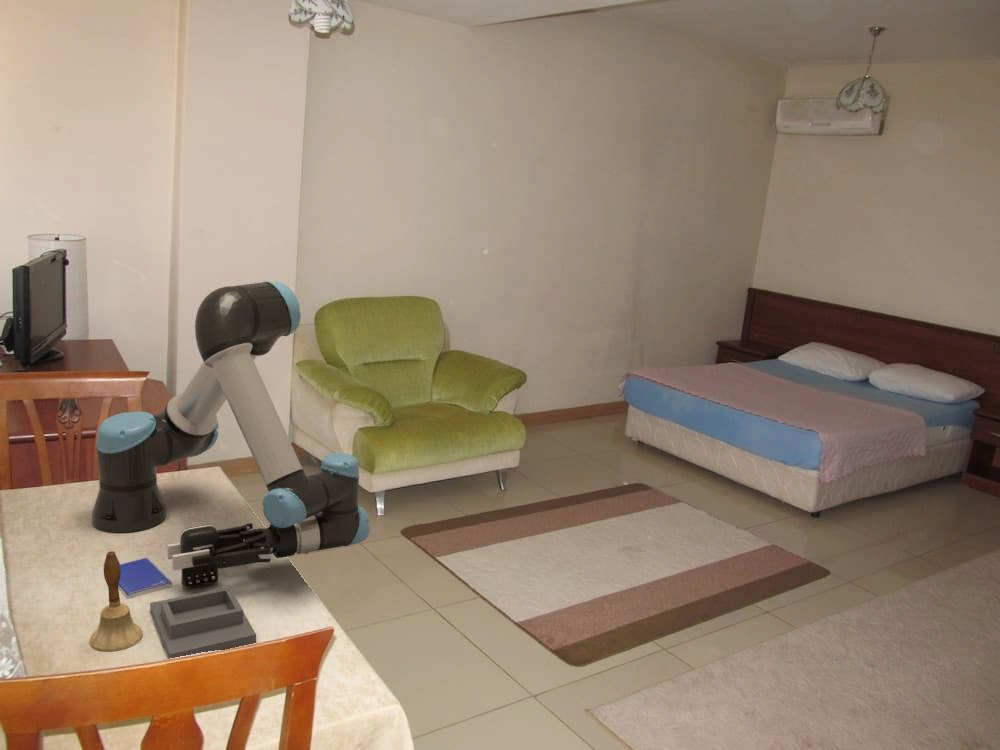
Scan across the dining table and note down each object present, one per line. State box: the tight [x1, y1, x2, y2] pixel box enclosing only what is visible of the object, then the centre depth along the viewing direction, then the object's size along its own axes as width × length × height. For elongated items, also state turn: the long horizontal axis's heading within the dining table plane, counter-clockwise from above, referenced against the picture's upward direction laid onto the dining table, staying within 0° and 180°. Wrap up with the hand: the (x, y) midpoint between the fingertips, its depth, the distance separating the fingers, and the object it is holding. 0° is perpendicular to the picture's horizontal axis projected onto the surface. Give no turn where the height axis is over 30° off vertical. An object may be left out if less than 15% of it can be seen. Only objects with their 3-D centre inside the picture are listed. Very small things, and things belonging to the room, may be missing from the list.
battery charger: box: [179, 524, 220, 589], centre depth 161 cm, size 7×4×11 cm, turn 124°
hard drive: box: [118, 558, 173, 600], centre depth 164 cm, size 2×8×12 cm
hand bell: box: [89, 551, 144, 652], centre depth 142 cm, size 8×8×16 cm
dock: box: [149, 586, 257, 659], centre depth 149 cm, size 18×14×4 cm
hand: (170, 557), depth 158 cm, fingers closed on battery charger, 4 cm apart
